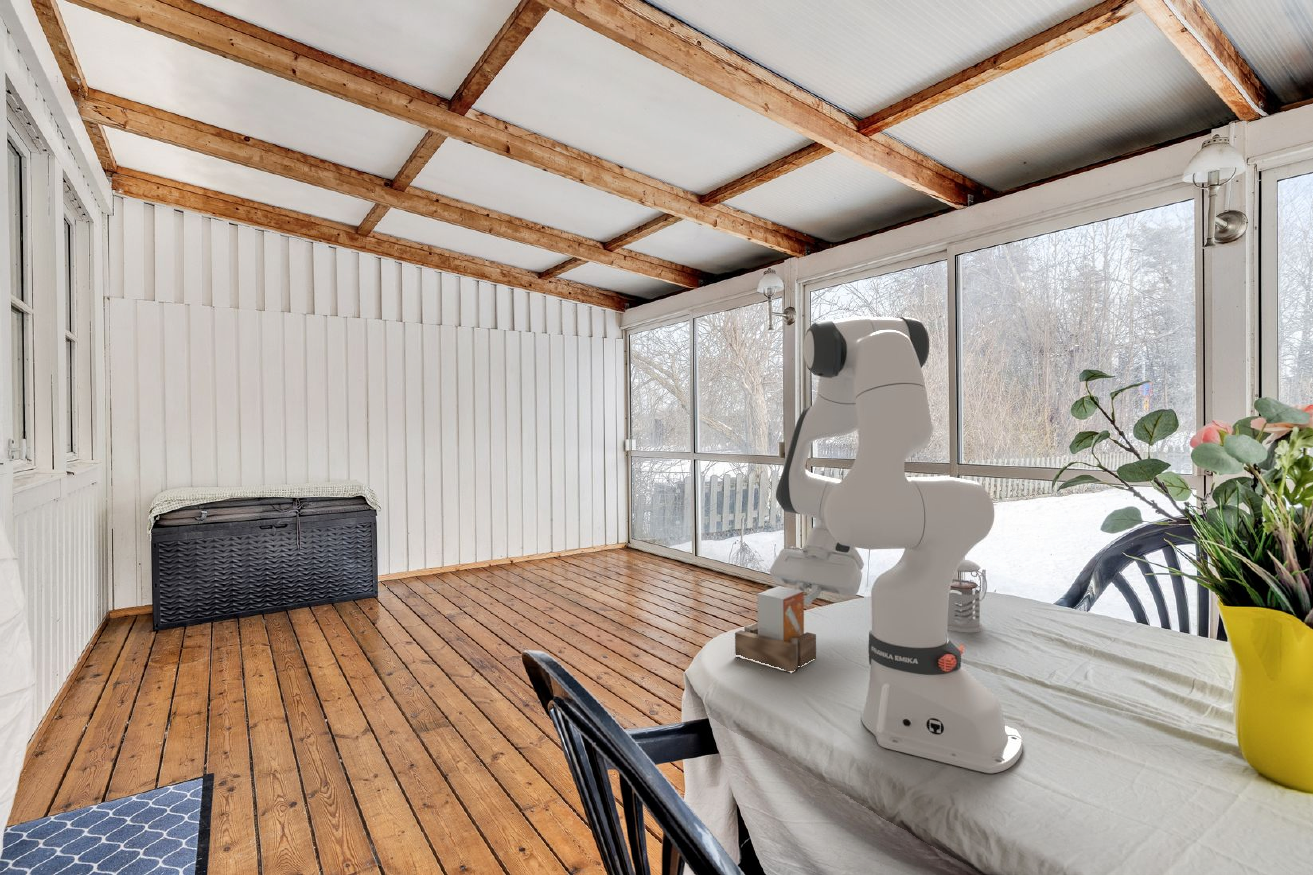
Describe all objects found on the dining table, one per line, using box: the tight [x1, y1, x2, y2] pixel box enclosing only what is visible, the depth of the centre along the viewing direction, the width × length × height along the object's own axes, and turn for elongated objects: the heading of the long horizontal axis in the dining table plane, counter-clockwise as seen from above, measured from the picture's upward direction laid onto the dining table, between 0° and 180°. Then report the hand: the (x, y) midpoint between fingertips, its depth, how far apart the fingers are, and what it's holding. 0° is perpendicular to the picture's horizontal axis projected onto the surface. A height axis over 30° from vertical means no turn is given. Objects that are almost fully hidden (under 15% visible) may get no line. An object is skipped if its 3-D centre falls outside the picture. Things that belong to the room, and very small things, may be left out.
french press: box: [947, 559, 988, 634], centre depth 146 cm, size 10×12×25 cm
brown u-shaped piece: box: [734, 622, 817, 671], centre depth 129 cm, size 13×10×6 cm
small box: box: [756, 585, 805, 643], centre depth 130 cm, size 8×6×13 cm
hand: (802, 604), depth 137 cm, fingers closed
